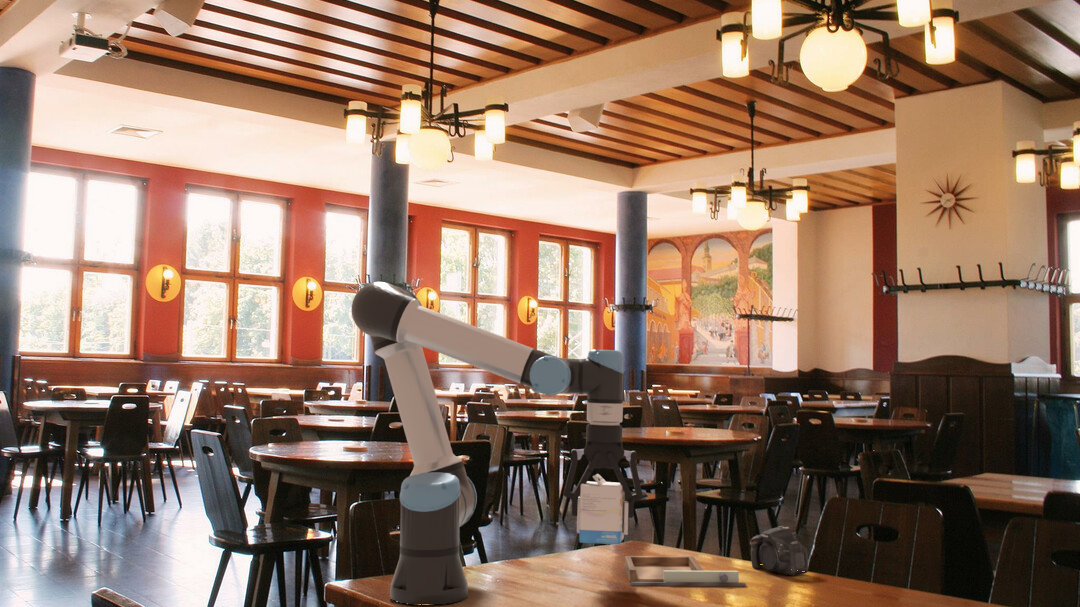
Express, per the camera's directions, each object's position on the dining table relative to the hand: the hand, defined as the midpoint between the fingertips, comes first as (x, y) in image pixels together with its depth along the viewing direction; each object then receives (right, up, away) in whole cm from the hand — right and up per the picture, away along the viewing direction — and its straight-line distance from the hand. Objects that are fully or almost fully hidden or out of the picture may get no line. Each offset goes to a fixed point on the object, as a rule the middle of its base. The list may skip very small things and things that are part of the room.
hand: (602, 532), depth 185 cm
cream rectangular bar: (+21, -11, 0) cm, 23 cm away
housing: (+18, -12, +8) cm, 23 cm away
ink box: (0, -2, 0) cm, 2 cm away
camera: (+40, -12, +13) cm, 44 cm away
